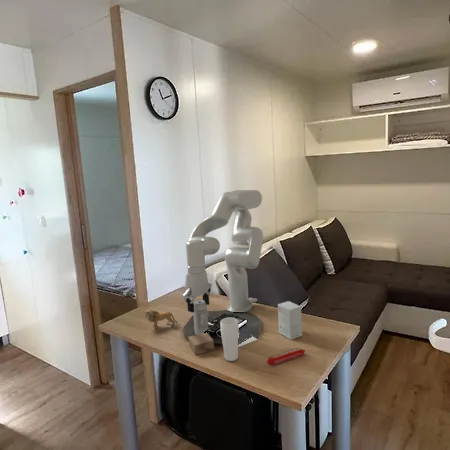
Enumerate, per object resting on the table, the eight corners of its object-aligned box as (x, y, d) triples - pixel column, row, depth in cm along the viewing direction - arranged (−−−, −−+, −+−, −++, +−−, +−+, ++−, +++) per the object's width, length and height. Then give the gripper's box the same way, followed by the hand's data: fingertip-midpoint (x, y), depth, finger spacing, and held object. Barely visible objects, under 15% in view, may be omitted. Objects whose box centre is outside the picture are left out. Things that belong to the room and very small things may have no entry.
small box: (302, 335, 152) (301, 306, 149) (290, 340, 149) (289, 310, 146) (289, 328, 159) (289, 300, 156) (278, 332, 156) (277, 304, 153)
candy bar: (300, 351, 140) (300, 344, 139) (306, 356, 137) (306, 348, 136) (264, 363, 133) (264, 356, 133) (270, 368, 130) (269, 360, 130)
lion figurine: (146, 331, 165) (144, 313, 163) (145, 327, 170) (143, 308, 168) (178, 325, 169) (177, 307, 167) (176, 320, 174) (175, 303, 172)
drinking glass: (218, 358, 138) (216, 321, 136) (231, 351, 143) (229, 315, 140) (231, 365, 134) (229, 326, 131) (244, 357, 138) (241, 320, 136)
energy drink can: (206, 329, 163) (203, 298, 160) (210, 335, 157) (208, 302, 154) (193, 332, 161) (190, 300, 158) (197, 338, 155) (194, 305, 152)
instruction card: (244, 332, 158) (244, 331, 158) (257, 339, 151) (257, 339, 151) (221, 340, 152) (221, 340, 152) (233, 349, 144) (233, 348, 144)
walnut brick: (207, 341, 152) (206, 332, 152) (214, 349, 145) (213, 340, 144) (189, 345, 149) (188, 336, 149) (195, 354, 142) (194, 345, 141)
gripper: (203, 263, 163) (205, 300, 165) (175, 273, 149) (178, 312, 152) (216, 265, 158) (218, 303, 161) (189, 275, 144) (191, 316, 147)
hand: (198, 307), depth 156 cm, fingers open, 9 cm apart
